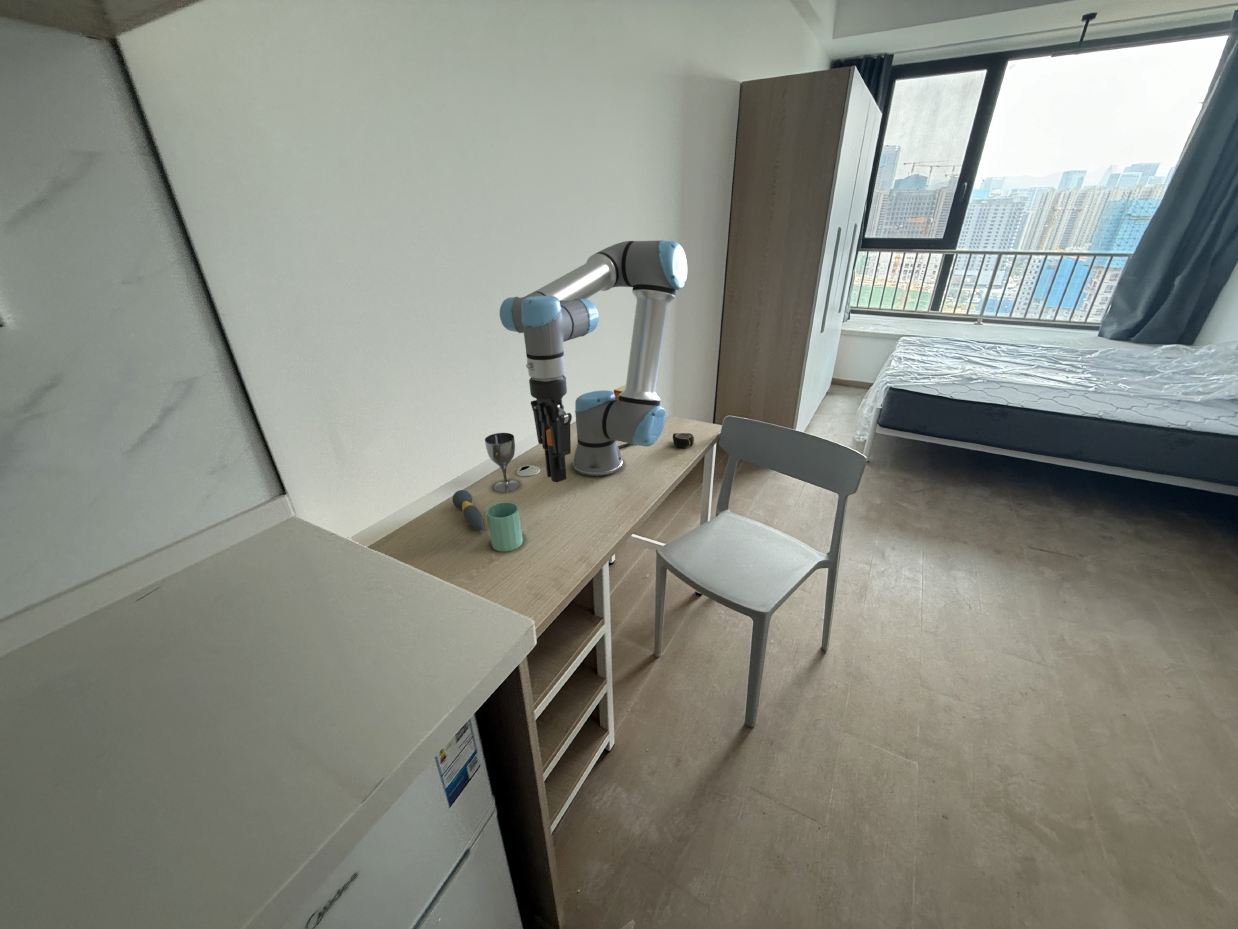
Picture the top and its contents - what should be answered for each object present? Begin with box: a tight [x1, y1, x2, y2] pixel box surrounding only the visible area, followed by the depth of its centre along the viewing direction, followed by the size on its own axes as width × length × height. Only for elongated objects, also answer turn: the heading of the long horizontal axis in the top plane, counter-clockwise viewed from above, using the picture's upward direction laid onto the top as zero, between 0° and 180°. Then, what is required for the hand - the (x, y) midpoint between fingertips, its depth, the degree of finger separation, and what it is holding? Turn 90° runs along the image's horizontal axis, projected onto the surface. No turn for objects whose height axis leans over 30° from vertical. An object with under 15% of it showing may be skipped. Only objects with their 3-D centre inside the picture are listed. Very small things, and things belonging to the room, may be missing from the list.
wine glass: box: [484, 432, 520, 493], centre depth 136 cm, size 8×8×15 cm
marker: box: [546, 429, 556, 483], centre depth 107 cm, size 3×3×12 cm
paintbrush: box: [451, 489, 485, 532], centre depth 124 cm, size 20×5×5 cm, turn 38°
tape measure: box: [672, 432, 695, 449], centre depth 161 cm, size 7×7×4 cm
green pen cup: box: [485, 501, 524, 552], centre depth 112 cm, size 7×7×9 cm
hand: (556, 477), depth 110 cm, fingers closed on marker, 2 cm apart
